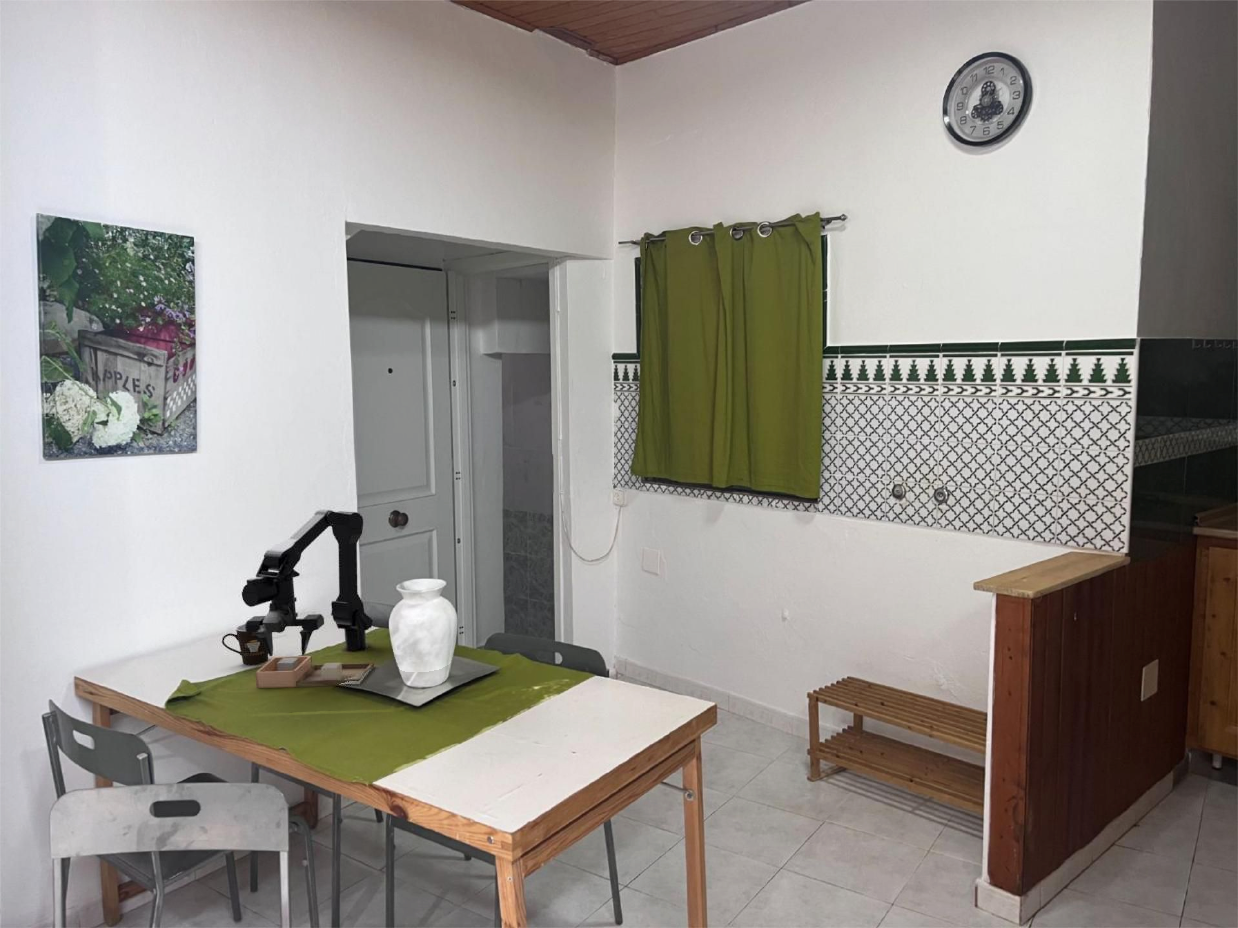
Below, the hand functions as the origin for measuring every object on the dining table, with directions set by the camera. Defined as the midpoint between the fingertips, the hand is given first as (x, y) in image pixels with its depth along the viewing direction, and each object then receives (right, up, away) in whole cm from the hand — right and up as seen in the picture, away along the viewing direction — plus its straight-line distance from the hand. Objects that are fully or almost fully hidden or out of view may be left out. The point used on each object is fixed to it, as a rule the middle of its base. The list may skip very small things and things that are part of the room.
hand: (287, 655), depth 233 cm
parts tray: (+13, -6, -1) cm, 14 cm away
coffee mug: (-16, -5, +15) cm, 22 cm away
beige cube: (+13, -6, -5) cm, 15 cm away
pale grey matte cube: (0, -5, +1) cm, 5 cm away
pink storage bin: (0, -6, -2) cm, 6 cm away
